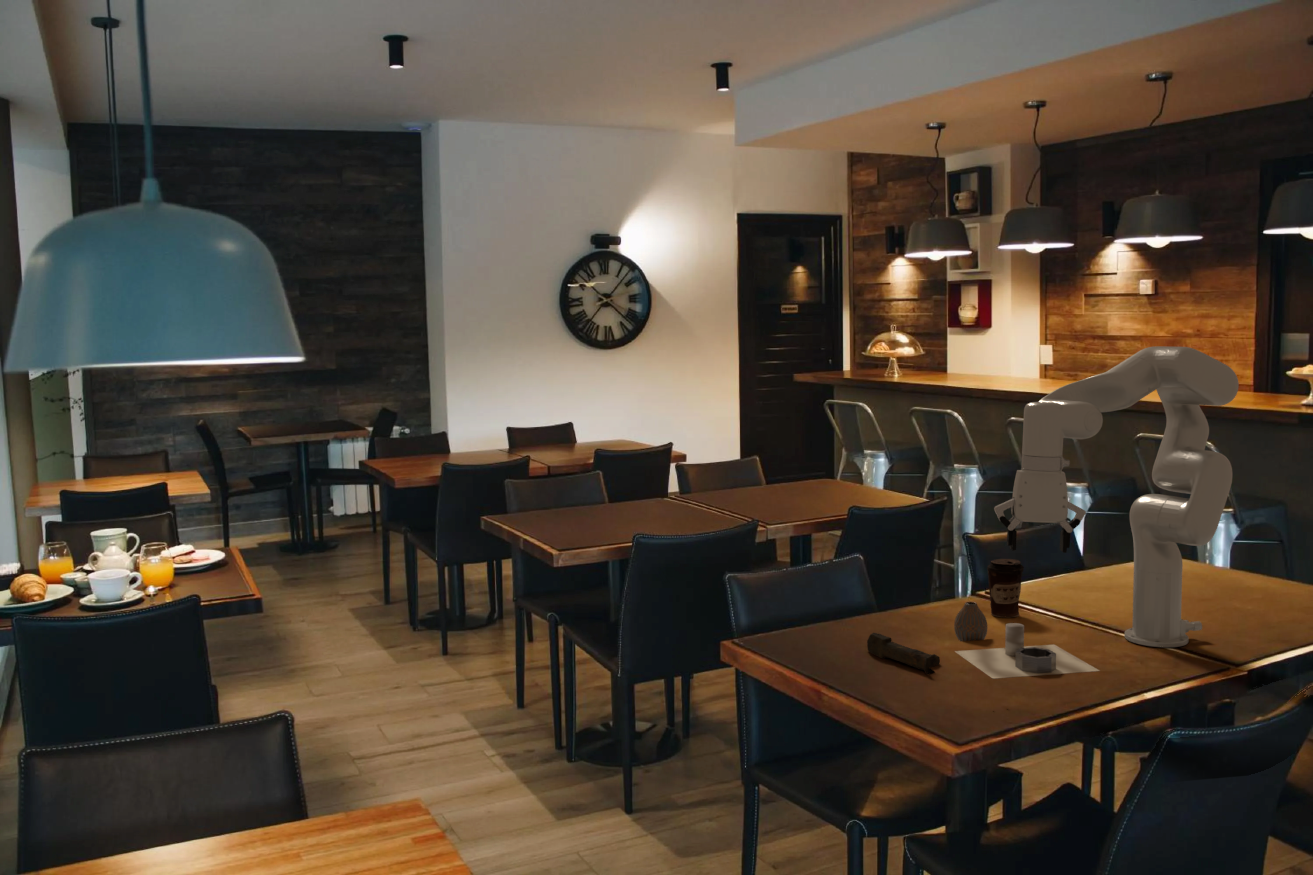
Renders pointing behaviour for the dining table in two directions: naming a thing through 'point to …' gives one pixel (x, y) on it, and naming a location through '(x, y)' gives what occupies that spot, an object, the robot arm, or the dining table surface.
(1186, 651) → the dining table surface
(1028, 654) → the ring
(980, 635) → the vase
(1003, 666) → the board
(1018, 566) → the coffee cup
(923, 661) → the hand tool
